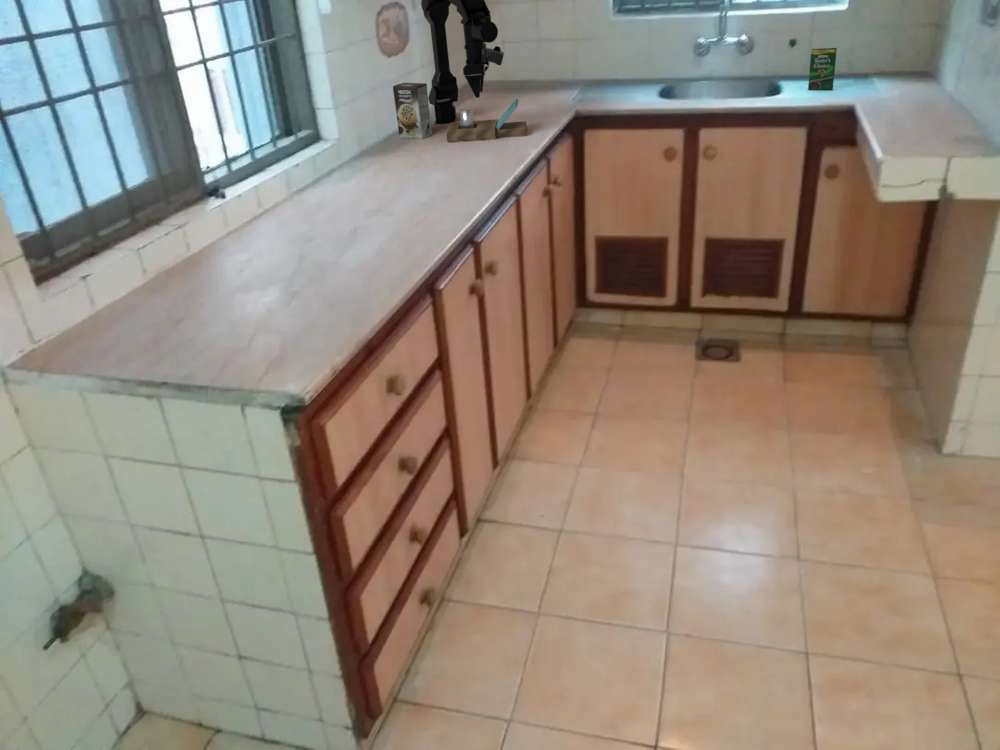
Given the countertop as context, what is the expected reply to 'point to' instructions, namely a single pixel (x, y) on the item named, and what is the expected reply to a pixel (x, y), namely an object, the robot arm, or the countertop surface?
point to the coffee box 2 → (822, 69)
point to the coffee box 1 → (412, 110)
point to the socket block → (485, 130)
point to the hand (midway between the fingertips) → (479, 94)
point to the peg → (467, 118)
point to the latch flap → (507, 114)
